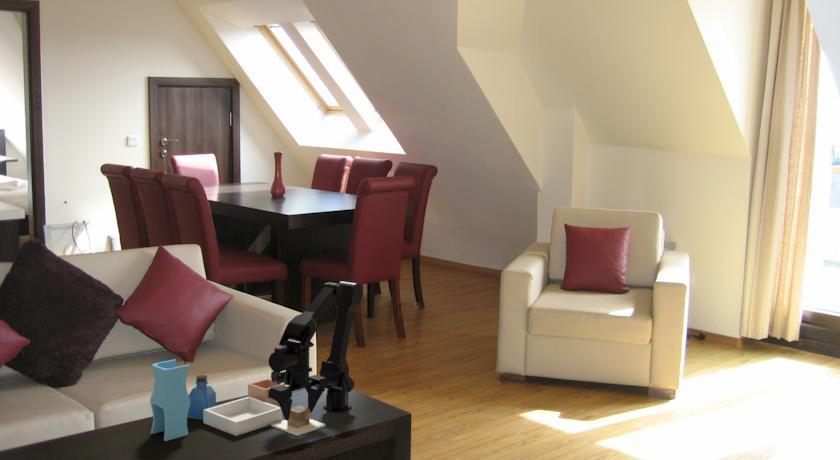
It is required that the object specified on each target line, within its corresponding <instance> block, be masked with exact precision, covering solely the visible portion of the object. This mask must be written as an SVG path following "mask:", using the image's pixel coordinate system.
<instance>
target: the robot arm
mask: <svg viewBox="0 0 840 460" xmlns="http://www.w3.org/2000/svg"><path fill="white" fill-rule="evenodd" d="M363 295H364V290H363V287H362V286H361V284H360V283H357V282H356V283H355V282H351V281H344V280H342V281H339V282H338V283H337V282H330V281H329V282H325V283H324V284H323V287H322V289H321V290H320V292H318V295H317V296H316V297H315V298H314V299H313V301H311V303H310V304H309V306H308V307H307V308H306V309H305V311H303V312H302V313H300V314H298V315H296V316H294V317H293V318H291V320H290V321H289V322H288V323H287V324H286V326H285V329H284V331H283V333H282V336H281V337H280V340H279V343H278V346H279V347H278V346H277V347H274V349H273V350H274V352H272V353H270V355H269V357H268V365H269V368H270V369H271V370H272V371H271V373H270V379H271V380H272V382H276V383H277V384H280V383H283V384H285V387H284V386H281V385H278V386H275V387H271V388H270V389H269V391H268V397H269V398H272V399H273V400H276V401H277V402H278V403H279V405H280V407H281V410H282V417H283V419H284V420H287V421H288V420H289V416H290V411H291V408H292V405H293V398H292V396H293V393H296V392H300V391H304V390H306V393H307V409H310V414H311V413H313V411H314V409H315V406H317V403H318V402H319V400H320V398H321V396H322V394H323V392H325V391H326V389H327V391H326V395H325V396H326V400H325V405H323V406H322V407H323V409H326V410H329V411H332V412H335V413H340V412H342V411H343V412H344V411H346V410H348V409H352V405H350V404H349V393H351V392H352V390H354V387H355V382H354V380H353V379H352V378H351V377H350V375H349V373H350V367H349V364H348V362H347V351H348V346H349V340H350V335H351V328H352V322H353V315H354V312H355V311H356V309H358V308H359V306H360V304H361V301H362V297H363ZM333 303H335V307H336V310H337V311H336V316H335V322H334V323H335V324H334V328H333V333H332V341H331V345H330V352H329V356H328V357H327V359H325V360H323V361H321V364H320V365H321V367H320V371H319V373H318V374H319V375H318V374H312V375H311V376H310V373H312V372H313V367H310V348H312V347H314V346H315V344H314V342H312V341H311V340H312V339H313V337H314V336H315V334H316V332H317V330H318V329H317V328H318V327H317V325H318V323H319V321H320V320H321V319H322V318H323V316H324V315H325V314H326V313H327V311H328V310H329V309H330V307H331V306H332V305H333Z"/></svg>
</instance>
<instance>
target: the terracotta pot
mask: <svg viewBox="0 0 840 460" xmlns="http://www.w3.org/2000/svg"><path fill="white" fill-rule="evenodd" d="M278 385H281V386H284V387H286V385H285V384H284V383H280V384H277V383H276V382H272V380H271V378H266V379H264V378H263V379H261V380H257V381H254V382H251V383H248V384H247V397H249V396H250V397H253V398H255V399H258V400H261V401H264V402H267V403H270V404H272V405H275V406H278V407H280V405H279V403H278V402H277V401H276V400H273V399H272V398H269V397H268V391H269V389H270V388H271V387H275V386H278Z"/></svg>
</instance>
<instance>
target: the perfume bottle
mask: <svg viewBox="0 0 840 460" xmlns="http://www.w3.org/2000/svg"><path fill="white" fill-rule="evenodd" d="M195 378H196V380H195V387H193V388H192V389H191V390H190V392H189V394H188V395H189V398H190V407H189V410H188V415H187V419H194V420H203V410H204V409H208V408H211V407H215V406H217V393H216V392H215V390H214V388H213V387H212V386H211V385H208V384H209V381H208V379H207V378H208V375H207V374H206V375H204V374H203V375H202V374H200V375H197V376H195Z"/></svg>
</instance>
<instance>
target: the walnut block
mask: <svg viewBox="0 0 840 460" xmlns="http://www.w3.org/2000/svg"><path fill="white" fill-rule="evenodd" d="M310 414H311V413H310V409H308V407H305V406H301V405H297V406H294V407H291V411H290V416H289V420H288V421H287V424H288V425H291V426H294V427H296V428H300V427H303V426H306V425H309V423H310V419H311V418H310Z"/></svg>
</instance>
